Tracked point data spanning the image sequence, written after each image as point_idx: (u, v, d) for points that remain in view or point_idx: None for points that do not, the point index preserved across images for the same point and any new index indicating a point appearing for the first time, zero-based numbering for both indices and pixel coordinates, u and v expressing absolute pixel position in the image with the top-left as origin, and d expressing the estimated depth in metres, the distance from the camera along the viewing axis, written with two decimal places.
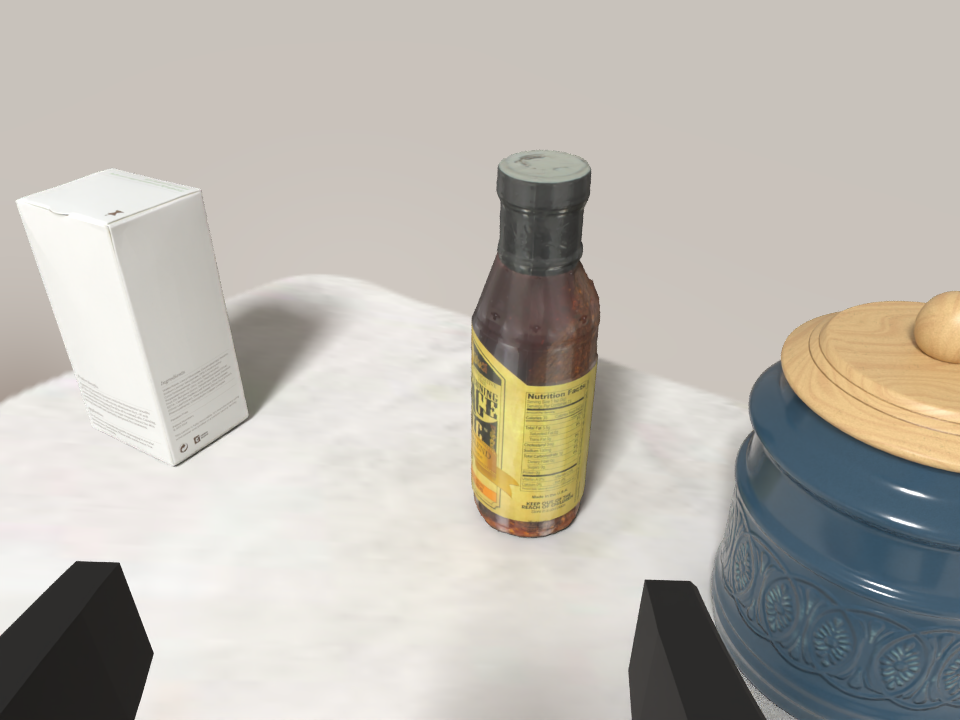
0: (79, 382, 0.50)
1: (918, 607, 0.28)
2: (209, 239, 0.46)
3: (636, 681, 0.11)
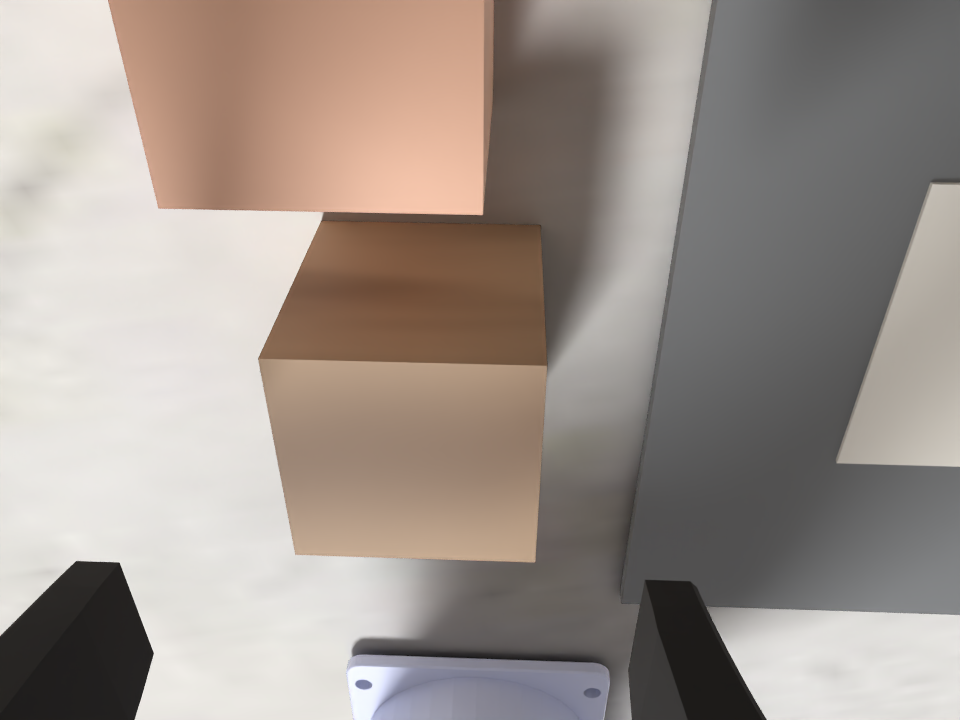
0: None
1: None
2: None
3: (636, 681, 0.11)
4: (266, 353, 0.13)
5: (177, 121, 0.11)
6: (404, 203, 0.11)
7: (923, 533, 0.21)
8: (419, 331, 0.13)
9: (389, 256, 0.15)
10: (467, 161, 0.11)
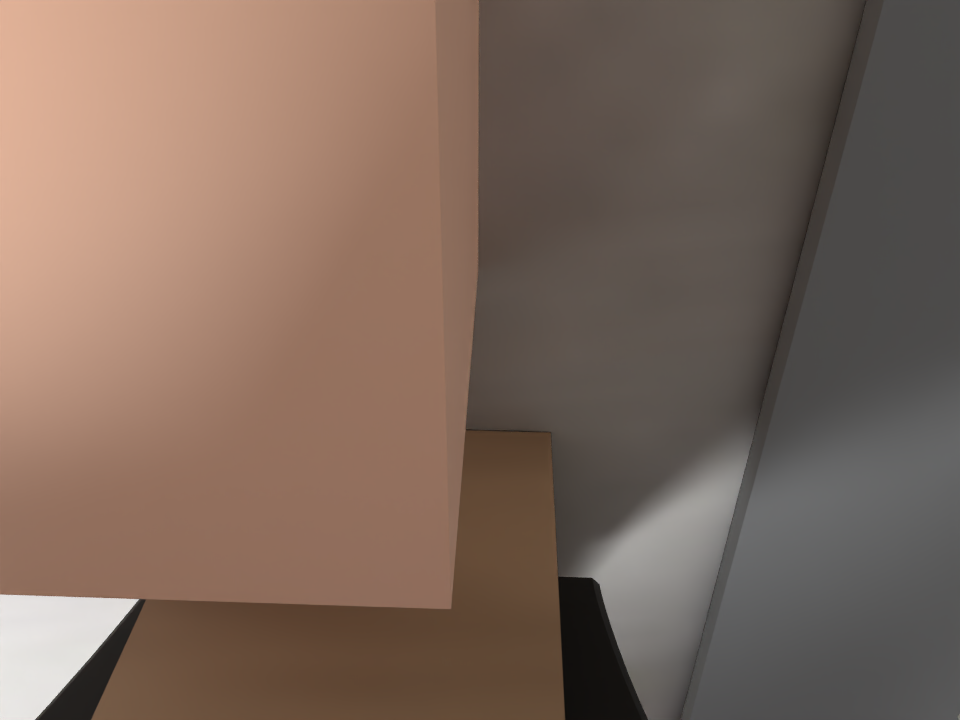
0: None
1: None
2: None
3: None
4: None
5: None
6: (298, 589, 0.06)
7: None
8: (349, 703, 0.08)
9: None
10: (417, 532, 0.05)
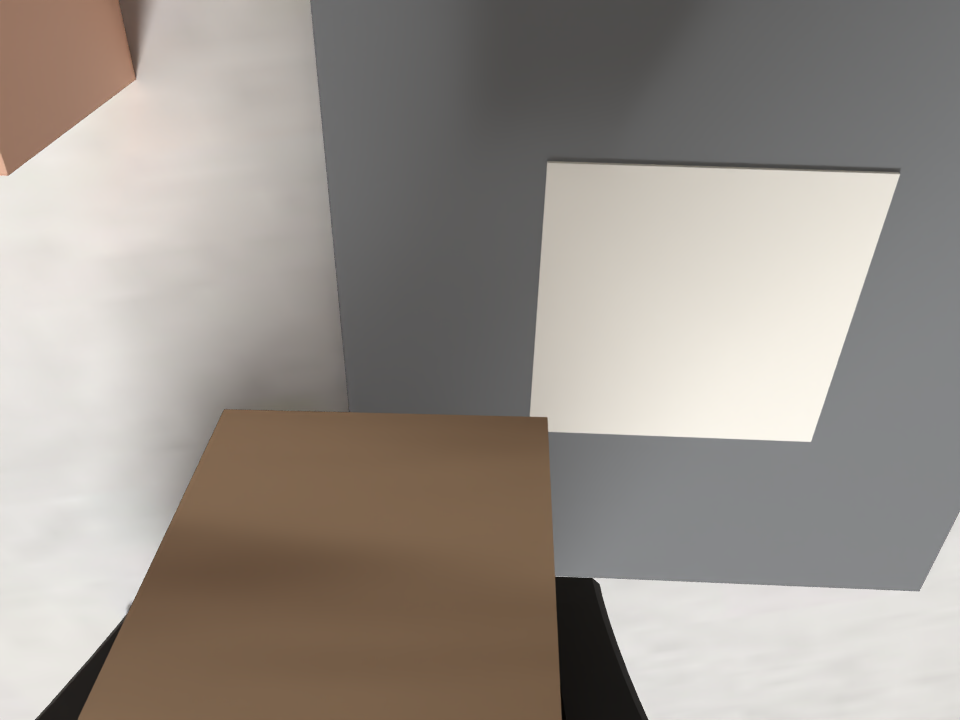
0: None
1: None
2: None
3: None
4: None
5: None
6: None
7: (628, 500, 0.22)
8: (345, 681, 0.08)
9: (315, 490, 0.10)
10: None
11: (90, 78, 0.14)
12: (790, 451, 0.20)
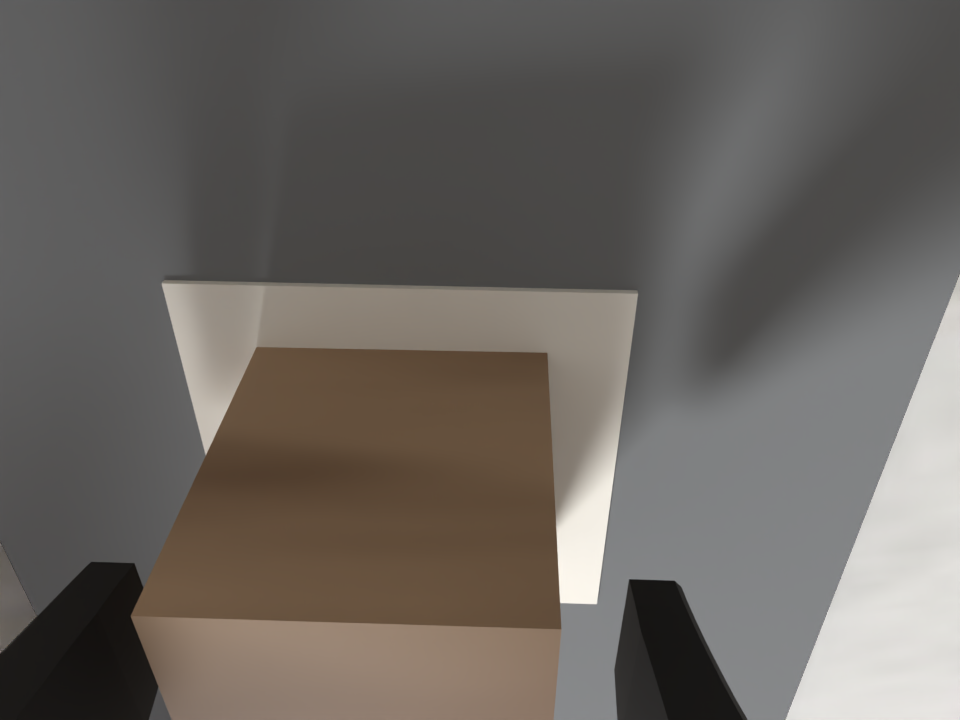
0: None
1: None
2: None
3: (621, 680, 0.11)
4: (144, 603, 0.09)
5: None
6: None
7: None
8: (374, 558, 0.09)
9: (341, 411, 0.11)
10: None
11: None
12: (575, 613, 0.16)
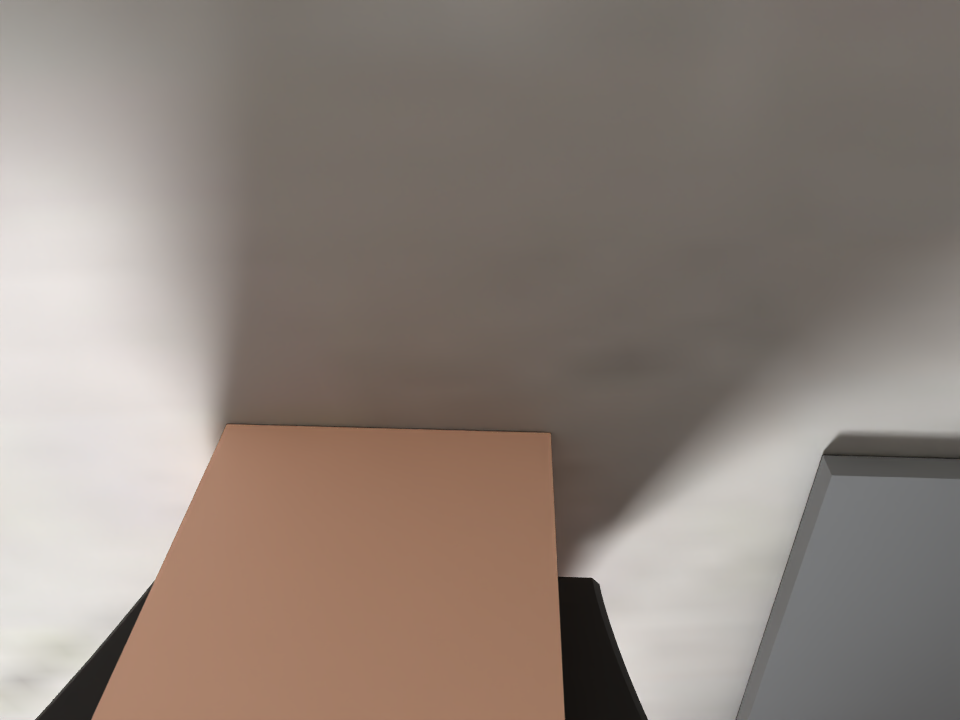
0: None
1: None
2: None
3: None
4: None
5: None
6: None
7: None
8: None
9: None
10: None
11: None
12: None
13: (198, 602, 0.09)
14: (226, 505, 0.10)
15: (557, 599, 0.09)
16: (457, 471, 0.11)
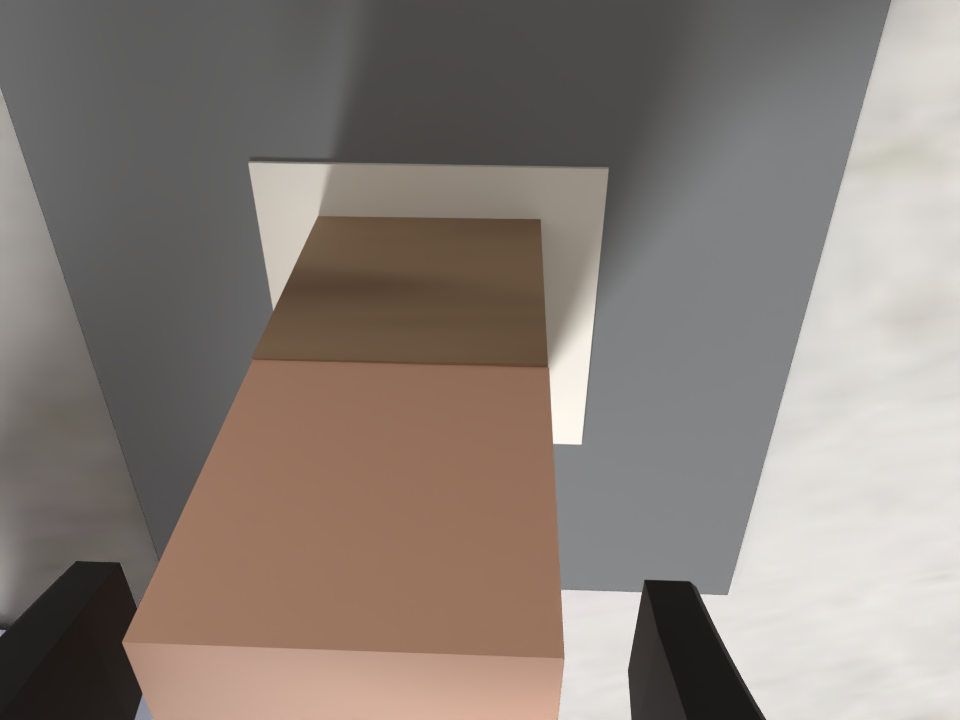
0: None
1: None
2: None
3: (636, 681, 0.11)
4: (260, 352, 0.12)
5: None
6: None
7: None
8: (416, 329, 0.13)
9: (386, 253, 0.15)
10: None
11: None
12: (564, 454, 0.20)
13: (234, 502, 0.10)
14: (255, 425, 0.11)
15: (554, 501, 0.10)
16: (464, 398, 0.12)
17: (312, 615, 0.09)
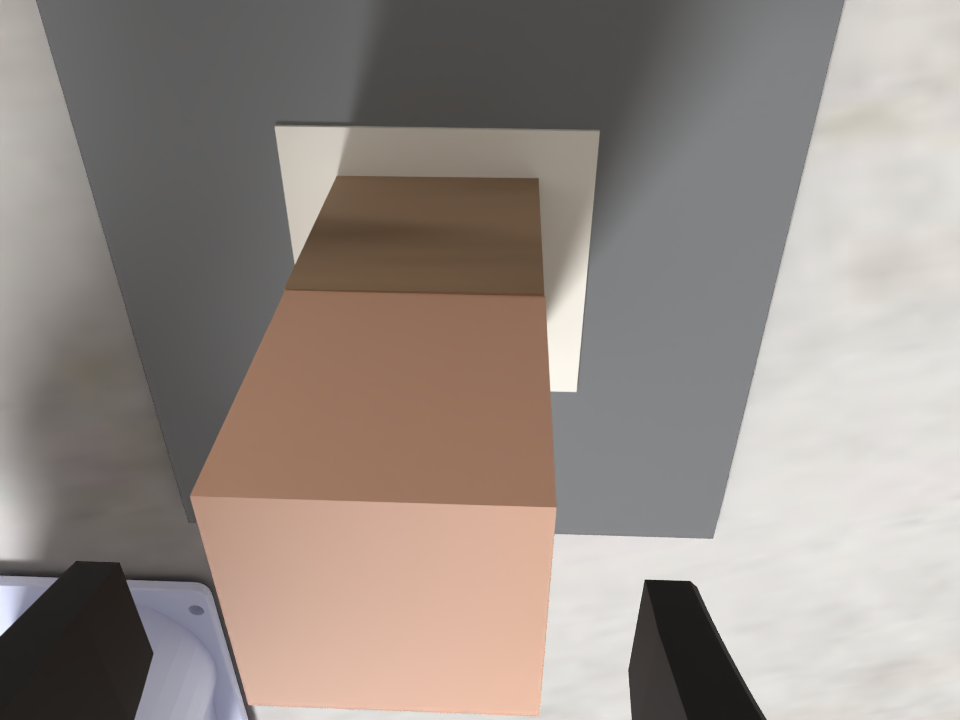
0: None
1: None
2: None
3: (636, 681, 0.11)
4: (291, 284, 0.14)
5: (270, 658, 0.12)
6: (469, 707, 0.12)
7: None
8: (428, 266, 0.15)
9: (399, 205, 0.17)
10: (527, 686, 0.12)
11: None
12: (560, 402, 0.22)
13: (276, 397, 0.12)
14: (291, 340, 0.13)
15: (549, 396, 0.12)
16: (471, 320, 0.13)
17: (347, 477, 0.10)
